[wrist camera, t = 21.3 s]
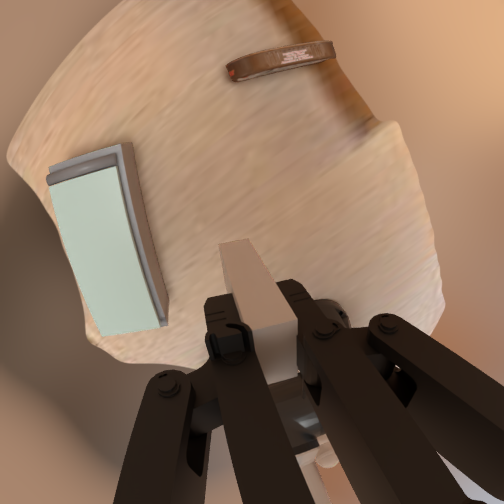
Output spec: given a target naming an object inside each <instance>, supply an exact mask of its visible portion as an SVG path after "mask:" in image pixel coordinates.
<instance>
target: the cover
mask: <svg viewBox="0 0 504 504" xmlns="http://www.w3.org/2000/svg"><path fill="white" fill-rule="evenodd" d="M115 165H117V156H116V154H115V153H113V154H110V155H106V156H103V157H99V158H96V159H92V160H89V161H86V162H83V163H80V164H77V165H74V166H71V167H68V168H65V169H62V170H59V171H57V172H54V173H51V174H49V175H47V177H46V181H47V184H48V185H49V186H51V185H53V186H51V187H49V190H50V195H51V199H52V203H53V207H54V211H55V215H56V218H57V222H58V226H59V229H60V232H61V236H62V239H63V242H64V245H65V248H66V251H67V254H68V257H69V260H70V263H71V266H72V269H73V271H74V274H75V277H76V279H77V282H78V284H79V287H80V289H81V292H82V294H83V296H84V299H85V301H86V303H87V306H88V308H89V310H90V312H91V315H92V317H93V319H94V321H95V323H96V325H97V327H98V329H99V331H100V333H101V335H102V337H103V336H110V335H117V334H124V333H131V332H137V331H143V330H150V329H156V328H161V323H160V321H159V318H158V315H157V312H156V309H155V306H154V304H153V301H152V298H151V295H150V292H149V289H148V285H147V282H146V279H145V276H144V273H143V269H142V266H141V263H140V259H139V256H138V252H137V249H136V245H135V241H134V237H133V234H132V230H131V226H130V222H129V218H128V213H127V209H126V205H125V200H124V196H123V191H122V186H121V181H120V176H119V171H118V166H115ZM111 166H114V167H111ZM108 167H111V168H108ZM104 168H107V169H104ZM101 169H104V170H101ZM97 170H100V171H97ZM94 171H97V172H94ZM90 172H93V173H90ZM87 173H90V174H87ZM84 174H87V175H84ZM81 175H83V176H81ZM78 176H80V177H78ZM75 177H77V178H75ZM71 178H74V179H71ZM68 179H71V180H68ZM65 180H68V181H65ZM63 181H65V182H63ZM60 182H62V183H60ZM57 183H59V184H57ZM54 184H56V185H54Z"/></svg>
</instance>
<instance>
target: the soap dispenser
mask: <svg viewBox="0 0 504 504" xmlns="http://www.w3.org/2000/svg"><path fill="white" fill-rule="evenodd" d="M317 440H318V443H319V445H320V449H319V451H318V453H317V455H316V459H315V461H316V462H317V463H318V464H319V465H320V466H321V467H324V468H331V467H333V466H335V465H336V464H337V463H338V462H339V460H338V458H337V456H336V454H335V452H334V450H333V448H332V446H331V444H330V442H329V440H328V438H327V435H326V434H324V435H321V436H319V437H317Z"/></svg>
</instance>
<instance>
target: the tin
mask: <svg viewBox="0 0 504 504" xmlns="http://www.w3.org/2000/svg"><path fill="white" fill-rule="evenodd" d="M331 58H336V53H335V50H334V47H333V42H332V41H316V42H308V43H301V44H295V45H289V46H283V47H278V48H273V49H268V50H263V51H259V52H256V53H252V54H249V55H246V56H244V57H241V58H238V59H236V60H234V61H232V62H230V63H228V64H227V65H226V68H227V69H228V72H229V74H230V77H231V79H232V81H234V82H240V81H244V80H248V79H252V78H255V77H259V76H263V75H267V74H272V73H276V72H280V71H284V70H289V69H293V68H298V67H302V66H307V65H311V64H316V63H320V62H323V61H325V60H327V59H331Z"/></svg>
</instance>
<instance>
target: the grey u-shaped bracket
mask: <svg viewBox="0 0 504 504" xmlns="http://www.w3.org/2000/svg"><path fill="white" fill-rule="evenodd" d="M113 153H115V154H116V156H117V165H115V166H118V171H119V176H120V181H121V186H122V191H123V196H124V200H125V205H126V209H127V213H128V218H129V222H130V226H131V230H132V234H133V237H134V241H135V245H136V249H137V252H138V256H139V259H140V263H141V266H142V269H143V273H144V276H145V279H146V282H147V285H148V289H149V292H150V295H151V298H152V301H153V304H154V306H155V309H156V312H157V315H158V318H159V321H160V323H161V327H163V326H168V312H169V297H168V294H167V291H166V288H165V284H164V281H163V278H162V274H161V271H160V267H159V264H158V260H157V256H156V253H155V249H154V245H153V241H152V237H151V233H150V229H149V225H148V221H147V216H146V212H145V208H144V203H143V198H142V194H141V189H140V184H139V179H138V174H137V168H136V163H135V157H134V151H133V145H132V142H131V143H122V144H117V145H114V146H110V147H107V148H103V149H100V150H97V151H93V152H90V153H87V154H84V155H81V156H78V157H75V158H72V159H69V160H66V161H63V162H61V163H58V164H55V165H53V166H50V167H49V172H50V174H51V173H54V172H57V171H59V170H62V169H65V168H68V167H71V166H74V165H77V164H80V163H83V162H86V161H89V160H92V159H96V158H99V157H103V156H106V155H110V154H113ZM111 167H114V166H111Z"/></svg>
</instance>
